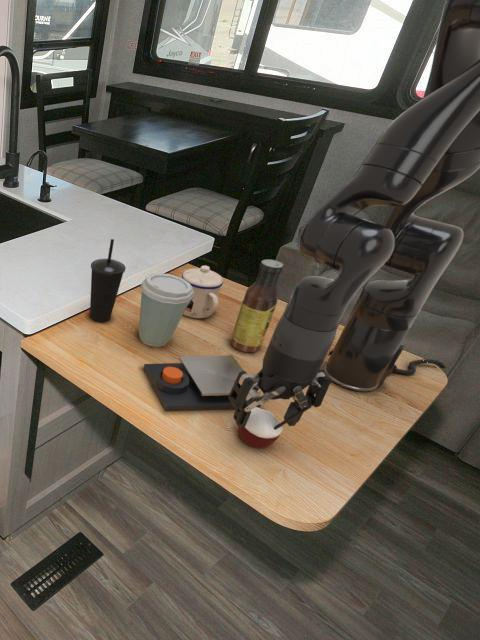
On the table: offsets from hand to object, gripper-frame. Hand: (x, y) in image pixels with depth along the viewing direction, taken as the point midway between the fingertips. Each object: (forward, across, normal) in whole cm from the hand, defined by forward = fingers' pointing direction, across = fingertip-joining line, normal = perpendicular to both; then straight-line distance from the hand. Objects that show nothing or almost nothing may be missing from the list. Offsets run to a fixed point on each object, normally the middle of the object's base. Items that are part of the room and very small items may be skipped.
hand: (264, 423), depth 88 cm
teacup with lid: (+5, +7, +43) cm, 44 cm away
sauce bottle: (+5, +12, +29) cm, 32 cm away
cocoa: (+5, 0, 0) cm, 5 cm away
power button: (+2, -10, +15) cm, 18 cm away
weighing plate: (+2, -1, +15) cm, 15 cm away
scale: (+5, -4, +15) cm, 16 cm away
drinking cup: (+5, -17, +42) cm, 46 cm away
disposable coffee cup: (+5, -7, +32) cm, 33 cm away
